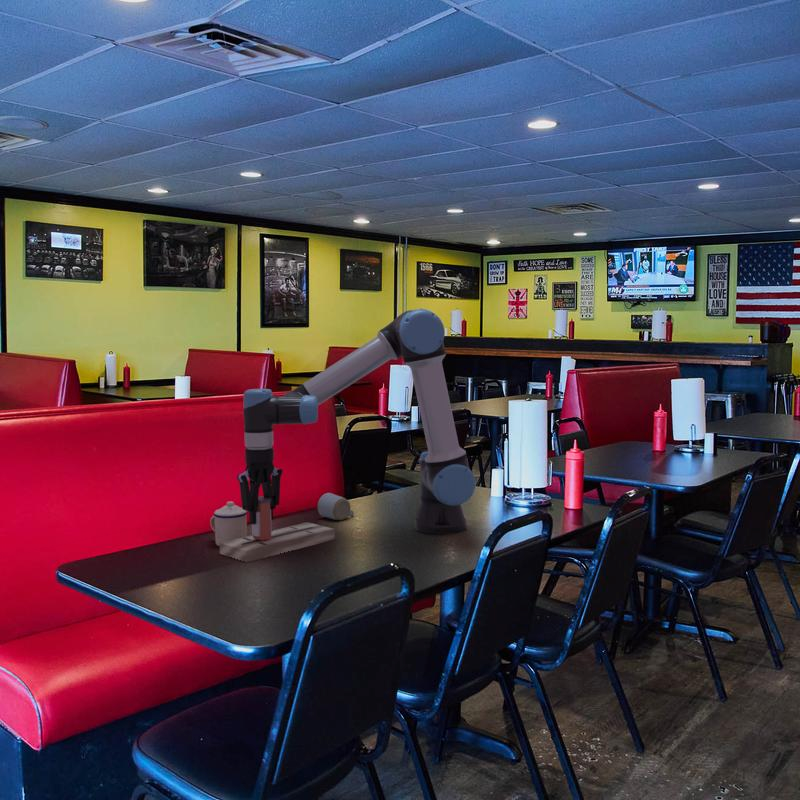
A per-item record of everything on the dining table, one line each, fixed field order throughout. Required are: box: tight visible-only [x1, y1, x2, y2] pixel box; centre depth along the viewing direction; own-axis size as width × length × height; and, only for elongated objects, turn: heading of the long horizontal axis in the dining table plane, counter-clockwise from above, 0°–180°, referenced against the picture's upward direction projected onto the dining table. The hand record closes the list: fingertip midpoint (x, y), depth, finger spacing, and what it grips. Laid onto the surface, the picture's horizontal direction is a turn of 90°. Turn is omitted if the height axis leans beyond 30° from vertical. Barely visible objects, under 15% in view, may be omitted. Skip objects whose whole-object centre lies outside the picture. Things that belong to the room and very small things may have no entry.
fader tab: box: [253, 496, 272, 541], centre depth 219 cm, size 4×3×11 cm
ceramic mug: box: [317, 492, 355, 521], centre depth 256 cm, size 11×8×8 cm
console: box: [219, 521, 336, 563], centre depth 224 cm, size 12×30×3 cm, turn 136°
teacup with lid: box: [209, 501, 248, 547], centre depth 228 cm, size 12×9×12 cm
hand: (261, 534), depth 219 cm, fingers closed on fader tab, 3 cm apart
